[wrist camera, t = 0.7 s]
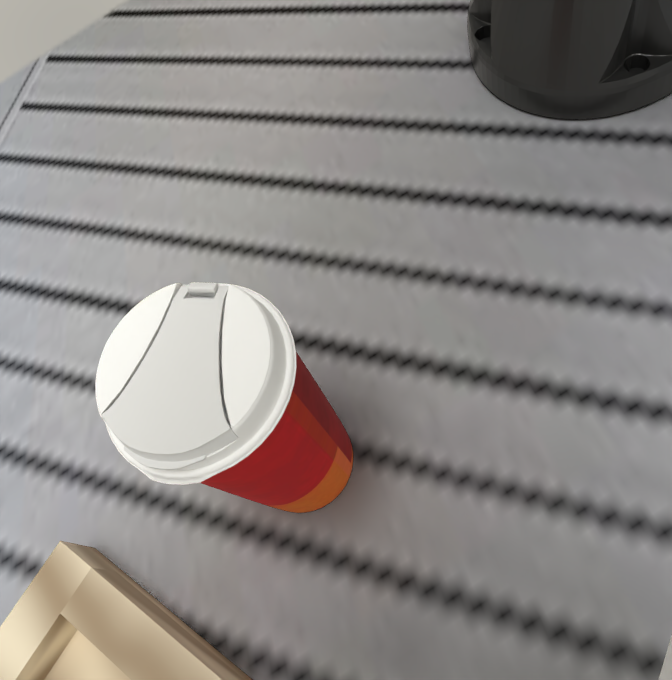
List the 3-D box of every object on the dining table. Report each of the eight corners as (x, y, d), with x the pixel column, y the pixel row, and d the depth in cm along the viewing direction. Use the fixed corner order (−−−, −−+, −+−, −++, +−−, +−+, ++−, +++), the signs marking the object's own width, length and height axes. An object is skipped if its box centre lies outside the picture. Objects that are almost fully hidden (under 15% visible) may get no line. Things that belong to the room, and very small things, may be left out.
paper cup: (254, 388, 37) (119, 265, 25) (383, 399, 35) (303, 267, 22) (223, 526, 34) (51, 462, 22) (361, 547, 32) (255, 489, 20)
